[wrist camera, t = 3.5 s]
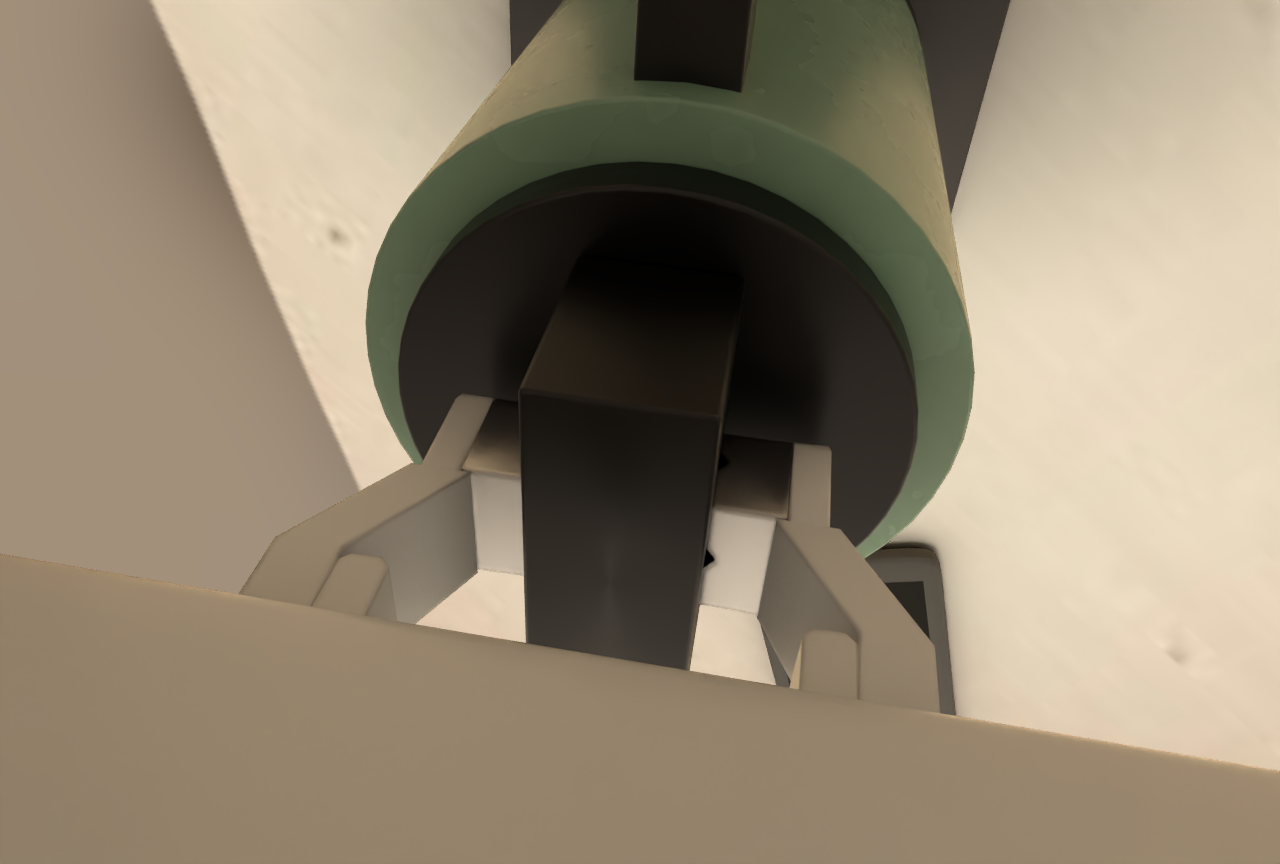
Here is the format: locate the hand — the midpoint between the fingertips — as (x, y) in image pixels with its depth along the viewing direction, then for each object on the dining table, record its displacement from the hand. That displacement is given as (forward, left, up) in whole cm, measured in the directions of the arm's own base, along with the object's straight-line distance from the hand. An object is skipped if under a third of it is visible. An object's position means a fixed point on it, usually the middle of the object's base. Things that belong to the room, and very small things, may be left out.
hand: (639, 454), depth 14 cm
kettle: (0, 0, -15) cm, 15 cm away
